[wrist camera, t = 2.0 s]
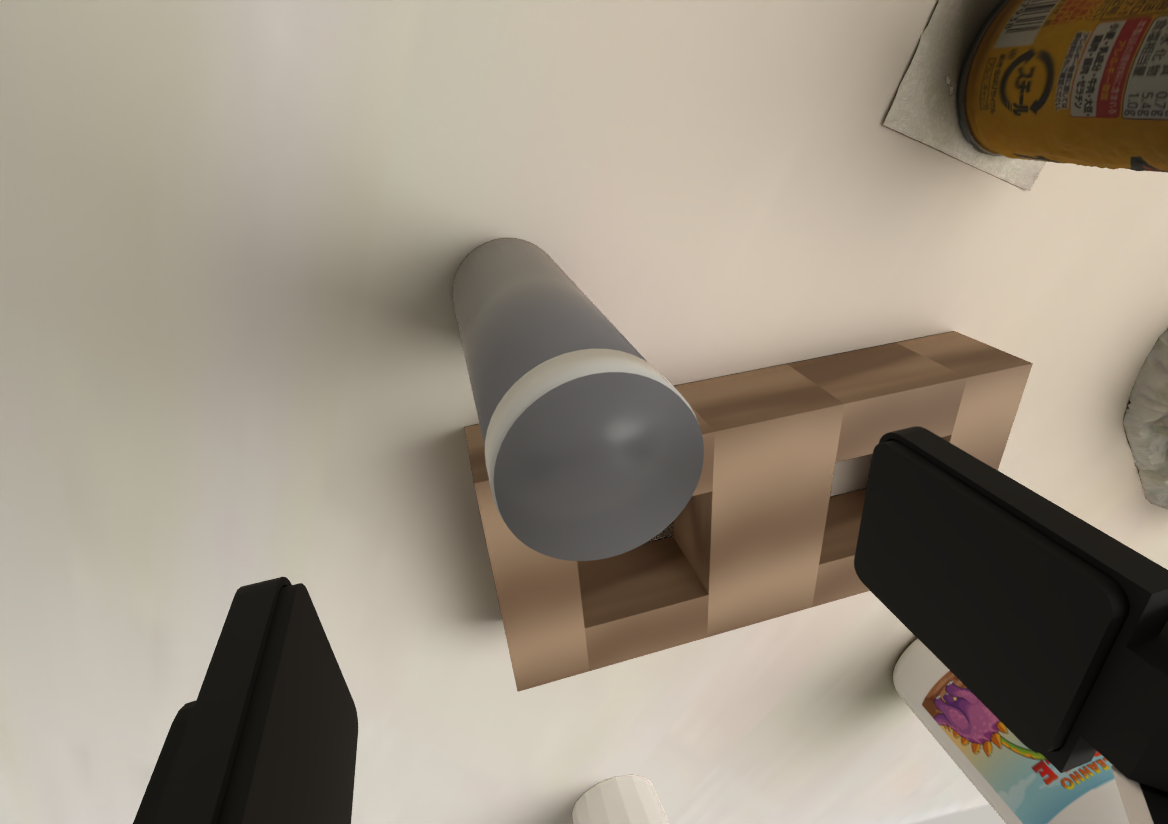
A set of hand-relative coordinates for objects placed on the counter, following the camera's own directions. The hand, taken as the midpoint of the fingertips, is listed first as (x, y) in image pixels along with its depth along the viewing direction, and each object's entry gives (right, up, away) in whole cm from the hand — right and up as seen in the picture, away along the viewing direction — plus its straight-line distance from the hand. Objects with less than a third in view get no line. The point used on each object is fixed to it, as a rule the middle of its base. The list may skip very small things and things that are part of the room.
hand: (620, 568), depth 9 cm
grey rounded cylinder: (-3, +7, +12) cm, 14 cm away
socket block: (+6, -1, +18) cm, 19 cm away
